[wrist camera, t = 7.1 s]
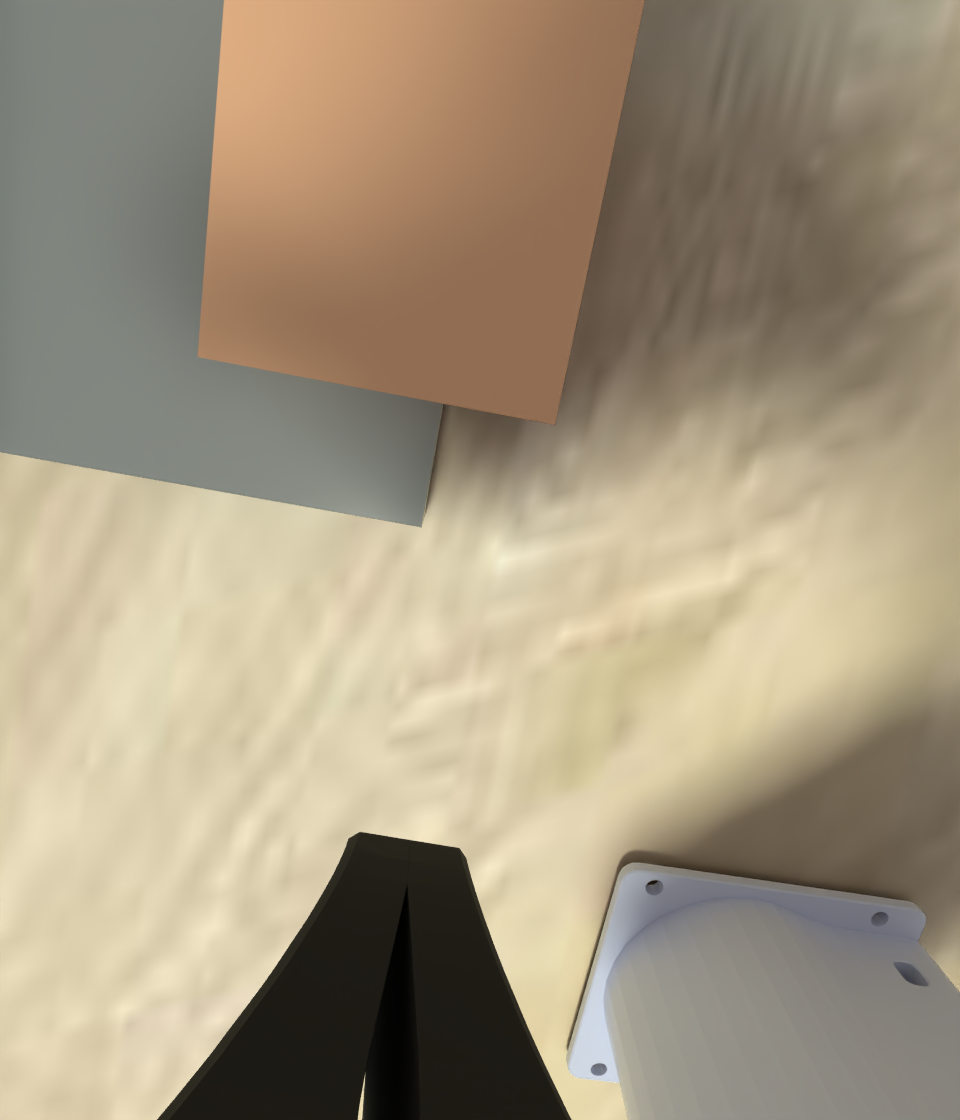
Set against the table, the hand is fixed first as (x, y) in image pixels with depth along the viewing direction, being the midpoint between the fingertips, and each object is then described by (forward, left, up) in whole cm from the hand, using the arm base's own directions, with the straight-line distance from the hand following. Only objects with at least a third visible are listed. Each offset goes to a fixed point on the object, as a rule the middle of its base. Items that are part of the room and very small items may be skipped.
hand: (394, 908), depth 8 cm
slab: (-2, -10, -7) cm, 12 cm away
